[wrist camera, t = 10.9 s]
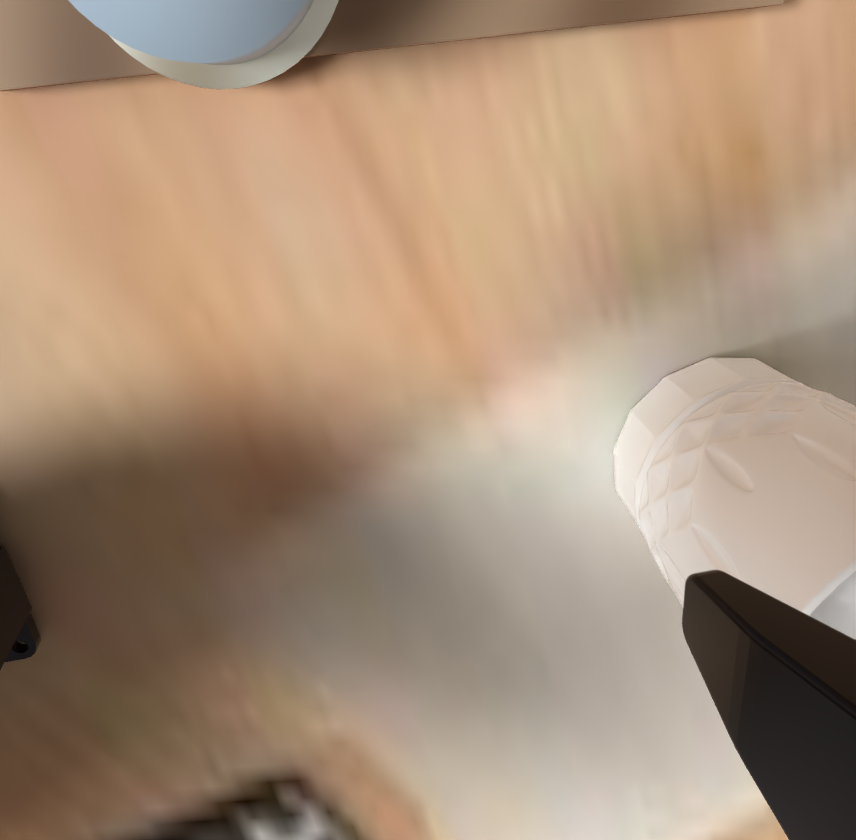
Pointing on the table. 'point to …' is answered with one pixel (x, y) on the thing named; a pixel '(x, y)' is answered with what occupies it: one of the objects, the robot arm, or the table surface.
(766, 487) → the white cup
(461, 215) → the table surface
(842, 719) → the robot arm
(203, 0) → the short pin
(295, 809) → the table surface
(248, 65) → the board
